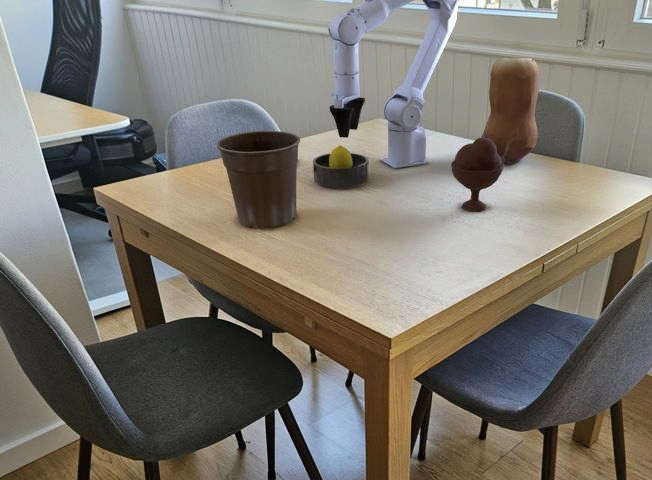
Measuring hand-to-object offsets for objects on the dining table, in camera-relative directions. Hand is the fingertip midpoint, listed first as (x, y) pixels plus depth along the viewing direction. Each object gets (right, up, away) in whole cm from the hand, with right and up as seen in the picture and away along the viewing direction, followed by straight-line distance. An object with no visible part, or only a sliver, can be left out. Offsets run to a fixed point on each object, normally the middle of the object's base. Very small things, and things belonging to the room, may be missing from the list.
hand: (348, 133), depth 151 cm
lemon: (-2, -12, -1) cm, 12 cm away
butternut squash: (+41, -4, +11) cm, 43 cm away
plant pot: (-16, -26, -21) cm, 37 cm away
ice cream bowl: (+28, -22, -17) cm, 39 cm away
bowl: (-2, -12, -1) cm, 12 cm away
